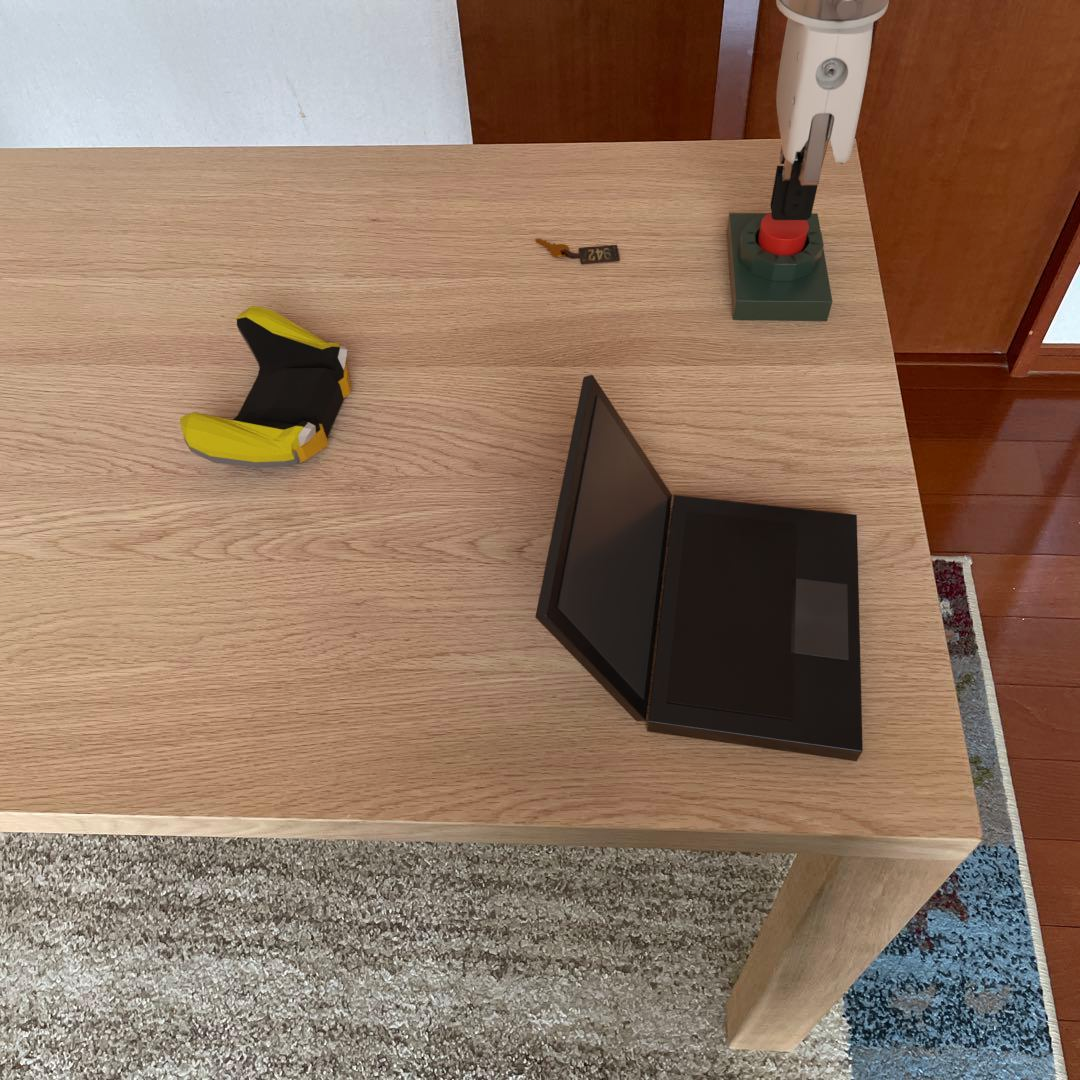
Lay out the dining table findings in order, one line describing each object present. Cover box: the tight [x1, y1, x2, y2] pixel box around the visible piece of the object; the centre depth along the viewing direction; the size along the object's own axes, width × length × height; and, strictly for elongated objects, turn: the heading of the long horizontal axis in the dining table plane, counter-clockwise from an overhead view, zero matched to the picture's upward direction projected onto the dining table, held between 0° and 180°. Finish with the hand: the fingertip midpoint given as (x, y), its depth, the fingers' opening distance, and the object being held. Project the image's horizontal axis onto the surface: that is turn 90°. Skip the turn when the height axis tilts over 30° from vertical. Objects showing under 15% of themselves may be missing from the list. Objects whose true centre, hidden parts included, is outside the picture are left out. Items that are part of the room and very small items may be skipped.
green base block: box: [726, 212, 833, 322], centre depth 82 cm, size 12×8×4 cm, turn 176°
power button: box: [758, 212, 809, 255], centre depth 80 cm, size 4×4×2 cm
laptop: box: [646, 494, 864, 762], centre depth 63 cm, size 13×18×2 cm
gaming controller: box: [179, 305, 352, 469], centre depth 74 cm, size 15×6×10 cm
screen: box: [534, 374, 673, 723], centre depth 59 cm, size 13×18×1 cm
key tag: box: [535, 238, 621, 265], centre depth 86 cm, size 8×3×1 cm, turn 80°
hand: (789, 213), depth 78 cm, fingers closed
